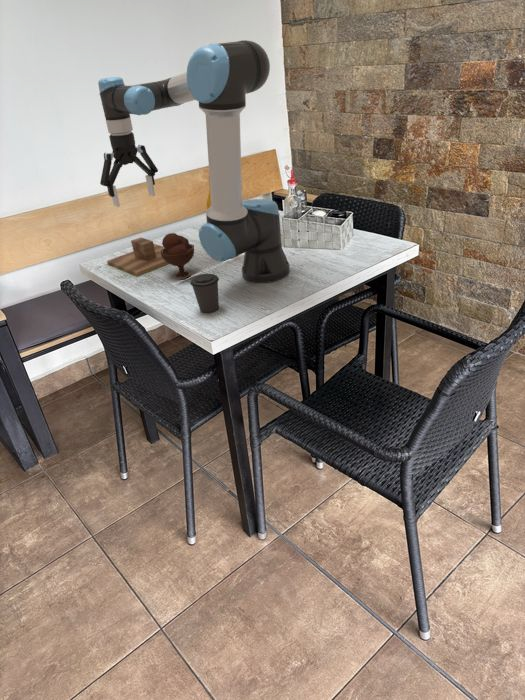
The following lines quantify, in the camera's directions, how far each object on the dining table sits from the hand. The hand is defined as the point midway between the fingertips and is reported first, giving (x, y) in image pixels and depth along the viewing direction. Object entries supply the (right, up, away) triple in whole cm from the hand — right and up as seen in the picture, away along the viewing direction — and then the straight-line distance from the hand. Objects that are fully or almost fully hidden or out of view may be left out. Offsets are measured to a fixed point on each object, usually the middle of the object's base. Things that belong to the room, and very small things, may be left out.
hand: (134, 200), depth 176 cm
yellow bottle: (+30, -17, +10) cm, 36 cm away
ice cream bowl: (+16, -26, -3) cm, 31 cm away
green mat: (+1, -19, +12) cm, 22 cm away
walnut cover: (+1, -18, +11) cm, 22 cm away
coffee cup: (+28, -38, -26) cm, 54 cm away
